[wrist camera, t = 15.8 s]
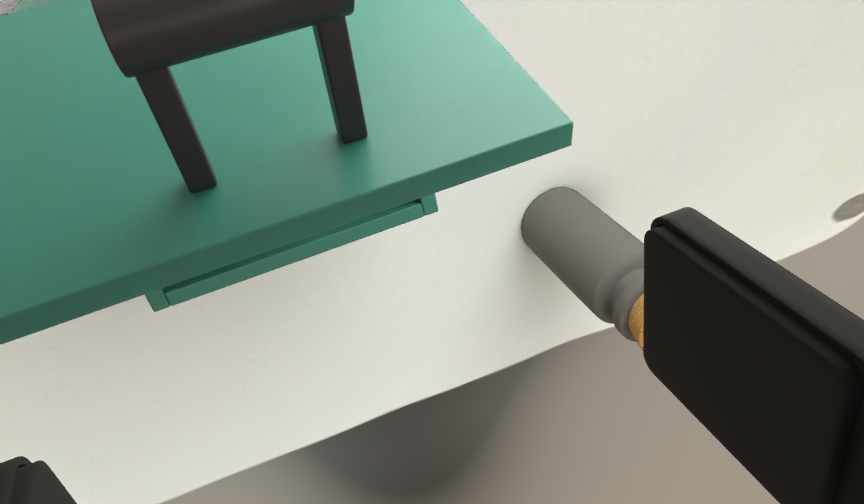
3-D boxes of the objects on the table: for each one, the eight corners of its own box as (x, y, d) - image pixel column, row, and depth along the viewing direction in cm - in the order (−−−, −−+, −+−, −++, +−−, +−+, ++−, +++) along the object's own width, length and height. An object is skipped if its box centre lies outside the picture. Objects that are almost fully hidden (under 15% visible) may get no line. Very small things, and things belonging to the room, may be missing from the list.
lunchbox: (369, 127, 45) (439, 211, 35) (148, 198, 42) (154, 312, 32) (313, -97, 38) (381, -74, 27) (39, -29, 35) (0, 24, 24)
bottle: (510, 212, 53) (621, 321, 41) (573, 172, 53) (702, 269, 41) (534, 264, 56) (643, 379, 44) (593, 226, 57) (717, 330, 45)
